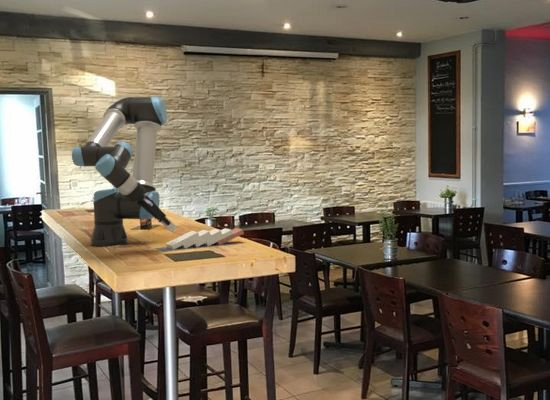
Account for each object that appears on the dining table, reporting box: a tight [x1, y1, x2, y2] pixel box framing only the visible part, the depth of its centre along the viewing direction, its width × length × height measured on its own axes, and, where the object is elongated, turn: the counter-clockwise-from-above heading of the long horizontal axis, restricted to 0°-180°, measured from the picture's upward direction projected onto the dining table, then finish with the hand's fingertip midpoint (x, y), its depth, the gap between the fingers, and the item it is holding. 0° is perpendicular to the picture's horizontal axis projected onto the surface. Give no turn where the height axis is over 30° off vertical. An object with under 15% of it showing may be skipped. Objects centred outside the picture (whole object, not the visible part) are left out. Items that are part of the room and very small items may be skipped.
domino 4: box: [202, 228, 233, 246], centre depth 251 cm, size 2×6×12 cm
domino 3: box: [192, 228, 222, 247], centre depth 249 cm, size 2×6×12 cm
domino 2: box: [180, 229, 211, 249], centre depth 246 cm, size 2×6×12 cm
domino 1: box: [165, 230, 199, 250], centre depth 243 cm, size 2×6×12 cm
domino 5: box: [214, 227, 245, 245], centre depth 254 cm, size 2×6×12 cm
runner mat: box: [153, 241, 237, 253], centre depth 246 cm, size 10×32×1 cm, turn 121°
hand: (173, 229), depth 241 cm, fingers closed
